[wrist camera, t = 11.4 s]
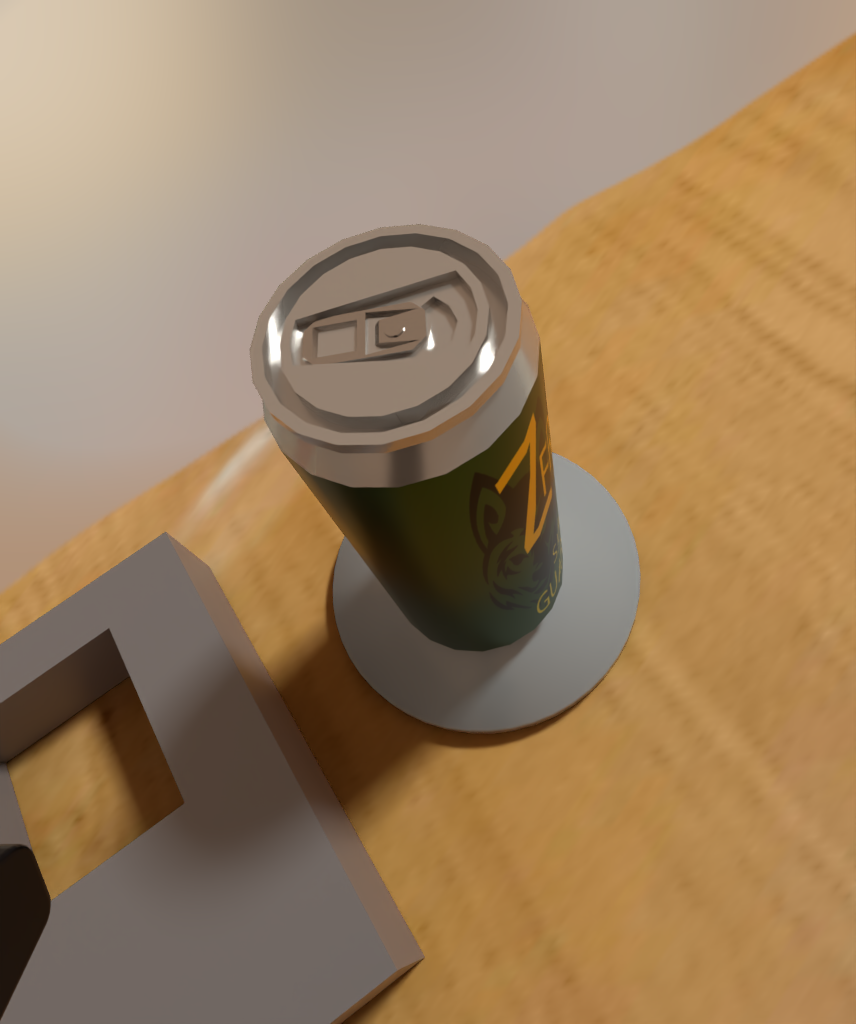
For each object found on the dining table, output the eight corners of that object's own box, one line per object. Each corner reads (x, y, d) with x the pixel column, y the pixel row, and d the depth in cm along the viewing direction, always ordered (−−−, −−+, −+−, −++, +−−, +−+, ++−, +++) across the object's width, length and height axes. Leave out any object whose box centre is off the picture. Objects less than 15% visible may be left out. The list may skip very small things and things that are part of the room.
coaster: (695, 670, 21) (697, 665, 20) (376, 779, 21) (371, 776, 21) (569, 412, 26) (569, 402, 25) (313, 505, 26) (307, 497, 26)
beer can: (401, 666, 22) (223, 480, 12) (397, 513, 24) (249, 246, 14) (575, 649, 21) (555, 431, 11) (553, 492, 24) (519, 190, 13)
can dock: (425, 956, 19) (397, 970, 16) (34, 1266, 18) (-64, 1334, 15) (209, 566, 26) (165, 531, 23) (-81, 767, 25) (-162, 754, 22)
